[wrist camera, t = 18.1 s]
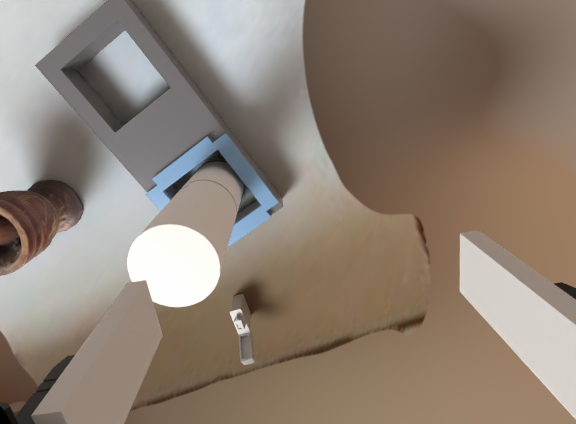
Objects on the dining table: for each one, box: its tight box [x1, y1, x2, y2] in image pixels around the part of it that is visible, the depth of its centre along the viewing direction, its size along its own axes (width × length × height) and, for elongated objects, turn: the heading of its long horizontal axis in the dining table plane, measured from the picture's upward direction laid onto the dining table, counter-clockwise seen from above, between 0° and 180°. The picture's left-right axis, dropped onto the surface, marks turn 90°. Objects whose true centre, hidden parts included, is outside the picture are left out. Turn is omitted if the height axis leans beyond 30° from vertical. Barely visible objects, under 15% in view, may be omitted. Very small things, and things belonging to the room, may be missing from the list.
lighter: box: [230, 294, 255, 365], centre depth 56 cm, size 7×2×8 cm, turn 16°
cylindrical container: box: [127, 161, 244, 307], centre depth 41 cm, size 7×7×25 cm
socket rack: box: [35, 0, 283, 247], centre depth 49 cm, size 31×13×5 cm, turn 36°
